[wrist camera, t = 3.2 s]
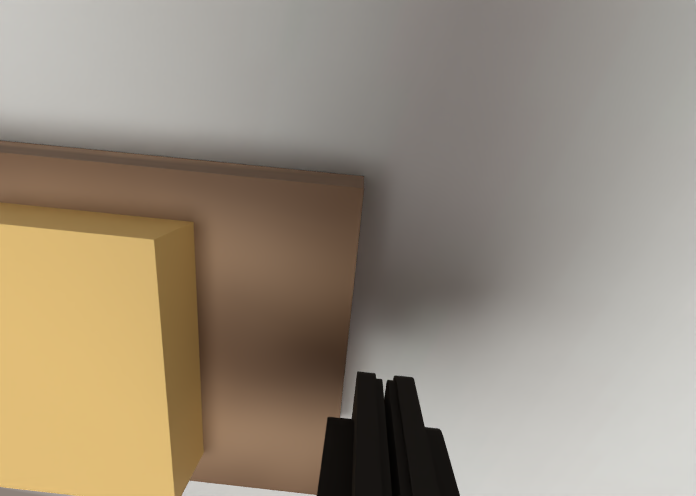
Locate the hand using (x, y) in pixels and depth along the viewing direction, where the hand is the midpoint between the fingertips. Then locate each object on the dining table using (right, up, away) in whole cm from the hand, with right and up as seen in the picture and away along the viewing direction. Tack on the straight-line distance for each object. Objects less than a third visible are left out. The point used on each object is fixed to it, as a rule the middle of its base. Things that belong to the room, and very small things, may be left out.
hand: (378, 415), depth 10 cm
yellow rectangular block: (-9, +2, +1) cm, 9 cm away
